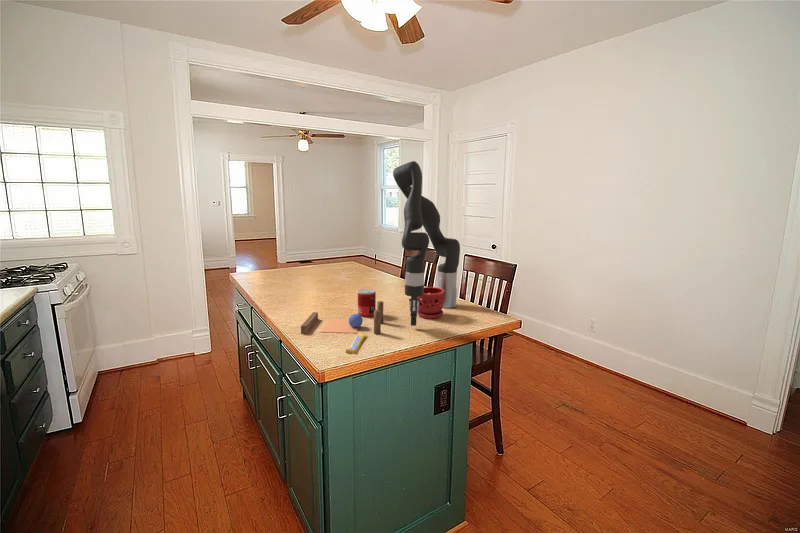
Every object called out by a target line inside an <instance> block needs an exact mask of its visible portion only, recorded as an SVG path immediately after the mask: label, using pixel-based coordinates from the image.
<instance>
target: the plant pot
mask: <svg viewBox="0 0 800 533" xmlns="http://www.w3.org/2000/svg"><path fill="white" fill-rule="evenodd" d="M444 298H445V292H444V290H443V289H441V288H437V286H436V287H435V286H424V294H423V295H422V296H418V297H417V299H419V305H418V312H417V316H419V317H421V318H422V319H423V318H425V319H430V320H431V319H438V318H440V317H441V316H443V313H444V311H443V309H444V308H443V305H444Z"/></svg>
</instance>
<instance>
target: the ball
mask: <svg viewBox="0 0 800 533" xmlns="http://www.w3.org/2000/svg"><path fill="white" fill-rule="evenodd" d="M363 320H364V319H363V317H361V316H360V315H359V314H358V313H353V314H351V315H349V318H348V321H349V324H350V326H351V327H353V328H358V327H359V328H360V327H361V326H362V324H363V322H364V321H363ZM359 328H358V329H359Z"/></svg>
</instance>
